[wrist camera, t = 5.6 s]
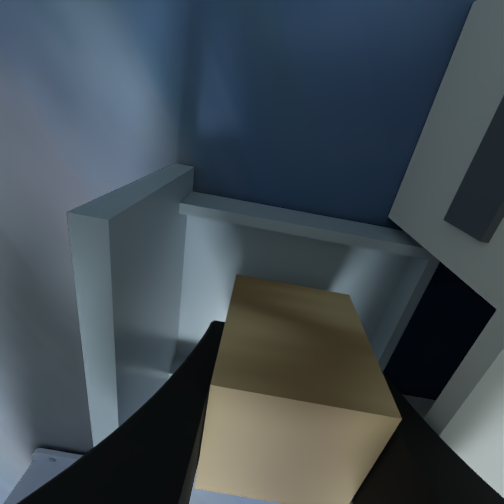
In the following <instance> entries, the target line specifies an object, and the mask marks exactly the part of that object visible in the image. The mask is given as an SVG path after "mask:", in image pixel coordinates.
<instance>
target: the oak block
mask: <svg viewBox="0 0 504 504" xmlns="http://www.w3.org/2000/svg"><path fill="white" fill-rule="evenodd" d="M401 420H402V418H401V415H400V413H399V410H398V408H397V406H396V403H395V401H394V399H393V396H392V394H391V392H390V389H389V387H388V385H387V382H386V380H385V378H384V375H383V373H382V371H381V368H380V366H379V363H378V361H377V359H376V356H375V354H374V352H373V349H372V347H371V345H370V342H369V340H368V338H367V335H366V333H365V331H364V328H363V326H362V324H361V321H360V319H359V316H358V314H357V312H356V309H355V307H354V305H353V302H352V300H351V298H350V295H348V294H343V293H337V292H332V291H326V290H321V289H315V288H310V287H304V286H299V285H293V284H288V283H282V282H277V281H271V280H266V279H260V278H255V277H249V276H244V275H238V274H236V278H235V283H234V287H233V291H232V295H231V300H230V304H229V308H228V312H227V317H226V321H225V325H224V329H223V334H222V338H221V342H220V346H219V351H218V355H217V359H216V363H215V368H214V372H213V376H212V380H211V385H210V391H209V397H208V404H207V411H206V417H205V424H204V430H203V437H202V443H201V450H200V457H199V463H198V470H197V476H196V483H195V489H201V490H207V491H213V492H218V493H224V494H230V495H236V496H241V497H247V498H253V499H259V500H264V501H270V502H276V503H282V504H349V503H350V502H351V500H352V498H353V497H354V495H355V494H356V492H357V490H358V489H359V487H360V486H361V484H362V482H363V481H364V479H365V478H366V476H367V474H368V473H369V471H370V470H371V468H372V466H373V465H374V463H375V462H376V460H377V458H378V457H379V455H380V454H381V452H382V450H383V449H384V447H385V446H386V444H387V442H388V441H389V439H390V438H391V436H392V434H393V433H394V431H395V430H396V428H397V426H398V425H399V423H400V422H401Z"/></svg>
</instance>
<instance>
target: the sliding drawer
mask: <svg viewBox="0 0 504 504" xmlns="http://www.w3.org/2000/svg"><path fill="white" fill-rule="evenodd" d="M193 180H194V167H193V166H188V165H182V164H177V163H174V164H172V165H169V166H167V167H165V168H163V169H161V170H158V171H156V172H154V173H152V174H150V175H147V176H145V177H143V178H141V179H139V180H136V181H134V182H132V183H130V184H127V185H125V186H123V187H121V188H119V189H116V190H114V191H112V192H110V193H108V194H105V195H103V196H101V197H99V198H97V199H94V200H92V201H90V202H88V203H86V204H83V205H81V206H79V207H77V208H75V209H72V210H70V211H68V212H67V220H68V229H69V238H70V246H71V255H72V264H73V273H74V281H75V290H76V299H77V307H78V316H79V325H80V334H81V342H82V351H83V360H84V369H85V377H86V386H87V395H88V404H89V412H90V421H91V430H92V439H93V447H95V446H96V445H97V444H99V443H100V442H101V441H102V440H104V439H105V438H106V437H107V436H109V435H110V434H111V433H112V432H113V431H115V430H116V429H117V428H118V427H119V426H120V425H122V424H123V423H124V422H125V421H126V420H127V419H128V418H129V417H131V416H132V415H133V414H134V413H135V412H136V411H137V410H138V409H139V408H140V407H142V406H143V405H144V404H145V403H146V402H147V401H148V400H149V399H150V398H151V397H152V396H153V395H154V394H155V393H156V392H157V391H158V390H159V389H160V388H161V387H162V386H163V385H164V384H165V382H166V381H167V380H168V379H169V378H170V377H171V376H172V375H173V374H174V372H175V371H176V370H177V369H178V368H179V367H180V366H181V364H182V363H183V362H184V361H185V360H186V358H187V357H188V356H189V354H190V353H191V352H192V351H193V349H194V348H195V347H196V345H197V344H198V343H199V341H200V340H201V338H202V337H203V335H204V334H205V332H206V331H207V329H208V327H209V325H210V323H211V322H212V321H214V320H216V321H222V322H225V321H226V317H227V312H228V308H229V304H230V300H231V295H232V291H233V287H234V283H235V278H236V274H238V275H244V276H249V277H255V278H260V279H266V280H271V281H277V282H282V283H288V284H293V285H299V286H304V287H310V288H315V289H321V290H326V291H332V292H337V293H343V294H348V295H350V298H351V300H352V302H353V305H354V307H355V309H356V312H357V314H358V316H359V319H360V321H361V324H362V326H363V328H364V331H365V333H366V335H367V338H368V340H369V342H370V345H371V347H372V349H373V352H374V354H375V356H376V359H377V361H378V363H379V366H380V368H381V369H382V371H384V369H385V367H386V365H387V363H388V361H389V359H390V357H391V355H392V353H393V352H394V350H395V348H396V346H397V344H398V342H399V340H400V338H401V336H402V334H403V332H404V330H405V328H406V326H407V324H408V322H409V320H410V319H411V317H412V315H413V313H414V311H415V309H416V307H417V305H418V303H419V301H420V299H421V297H422V295H423V293H424V291H425V289H426V288H427V286H428V284H429V282H430V280H431V278H432V276H433V274H434V272H435V270H436V268H437V266H438V264H439V262H440V261H439V260H438V259H437V258H436V257H435V256H433V255H432V254H431V253H430V252H429V251H427V250H426V249H425V248H424V247H423V246H422V245H420V244H419V243H418V242H417V241H416V240H415V239H413V238H412V237H411V236H410V235H409V234H408V233H406V232H405V231H403V230H397V229H392V228H387V227H381V226H376V225H371V224H365V223H360V222H355V221H349V220H344V219H338V218H333V217H328V216H322V215H317V214H312V213H306V212H301V211H295V210H290V209H285V208H279V207H274V206H269V205H263V204H258V203H253V202H247V201H242V200H236V199H231V198H226V197H220V196H215V195H210V194H204V193H199V192H194V191H193Z"/></svg>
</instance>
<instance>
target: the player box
mask: <svg viewBox="0 0 504 504" xmlns="http://www.w3.org/2000/svg"><path fill="white" fill-rule="evenodd" d="M388 217H389V218H390V219H391V220H392V221H393V222H395V223H396V224H397V225H398V226H399V227H400V228H402V229H403V230H404V231H405V232H406V233H408V234H409V235H410V236H411V237H412V238H413V239H415V240H416V241H417V242H418V243H419V244H420V245H422V246H423V247H424V248H425V249H426V250H427V251H429V252H430V253H431V254H432V255H433V256H435V257H436V258H437V259H438V260H439V261H440V262H442V263H443V264H444V265H445V266H446V267H447V268H449V269H450V270H451V271H452V272H453V273H454V274H456V275H457V276H458V277H459V278H460V279H461V280H463V281H464V282H465V283H466V284H467V285H469V286H470V287H471V288H472V289H473V290H474V291H476V292H477V293H478V294H479V295H480V296H481V297H483V298H484V299H485V300H486V301H487V302H488V303H490V304H491V305H492V306H493V307H494V308H496V309H497V310H496V311H495V313H494V314H493V316H492V317H491V319H490V320H489V322H488V323H487V325H486V326H485V328H484V329H483V331H482V332H481V334H480V335H479V337H478V338H477V340H476V341H475V343H474V344H473V346H472V347H471V349H470V350H469V352H468V353H467V355H466V356H465V358H464V359H463V361H462V362H461V364H460V365H459V367H458V368H457V370H456V371H455V373H454V374H453V376H452V377H451V379H450V380H449V382H448V383H447V385H446V386H445V388H444V389H443V391H442V392H441V394H440V395H439V397H438V398H437V400H432V399H426V398H420V397H415V396H409V395H404V394H402V395H403V396H404V397H405V399H406V400H407V401H408V402H409V403H410V404H411V406H412V407H413V408H414V409H415V410H416V411H417V412H418V414H419V415H420V416H421V417H422V418H423V419H424V420H425V421H426V422H427V423H428V425H429V426H430V427H431V428H432V429H433V430H434V431H435V432H436V433H437V434H438V435H439V437H440V438H441V439H442V440H443V441H444V442H445V443H446V444H447V445H448V446H449V447H450V448H451V449H452V450H453V451H454V452H455V453H456V454H457V455H458V456H459V457H460V458H461V459H462V460H463V461H464V462H465V463H466V464H467V465H468V466H469V467H470V468H471V469H473V470H474V471H475V472H476V473H477V474H478V475H479V476H480V477H481V478H482V479H483V480H484V481H485V482H486V483H487V484H489V485H490V486H491V487H492V488H493V489H494V490H495V491H496V492H498V493H499V494H500V495H501V496H502V497H503V498H504V0H477V1H475V2H473V4H472V6H471V9H470V11H469V14H468V16H467V19H466V22H465V24H464V27H463V29H462V32H461V34H460V37H459V39H458V42H457V44H456V47H455V49H454V52H453V54H452V57H451V59H450V62H449V64H448V67H447V69H446V72H445V75H444V77H443V80H442V82H441V85H440V87H439V90H438V92H437V95H436V97H435V100H434V102H433V105H432V107H431V110H430V112H429V115H428V117H427V120H426V122H425V125H424V127H423V130H422V133H421V135H420V138H419V140H418V143H417V145H416V148H415V150H414V153H413V155H412V158H411V160H410V163H409V165H408V168H407V170H406V173H405V175H404V178H403V180H402V183H401V186H400V188H399V191H398V193H397V196H396V198H395V201H394V203H393V206H392V208H391V211H390V213H389V216H388ZM349 504H352V500H351V502H350V503H349Z"/></svg>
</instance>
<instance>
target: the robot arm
mask: <svg viewBox="0 0 504 504" xmlns="http://www.w3.org/2000/svg"><path fill="white" fill-rule="evenodd" d="M224 325H225V322H222V321H216V320H214V321H212V322H211V323H210V325H209V327H208V329H207V331H206V332H205V334H204V335H203V337H202V338H201V340H200V341H199V343H198V344H197V345H196V347H195V348H194V349H193V351H192V352H191V353H190V354H189V356H188V357H187V358H186V360H185V361H184V362H183V363H182V364H181V366H180V367H179V368H178V369H177V370H176V371H175V372H174V374H173V375H172V376H171V377H170V378H169V379H168V380H167V381H166V382H165V384H164V385H163V386H162V387H161V388H160V389H159V390H158V391H157V392H156V393H155V394H154V395H153V396H152V397H151V398H150V399H149V400H148V401H147V402H146V403H145V404H144V405H143V406H142V407H140V408H139V409H138V410H137V411H136V412H135V413H134V414H133V415H132V416H131V417H129V418H128V419H127V420H126V421H125V422H124V423H123V424H122V425H120V426H119V427H118V428H117V429H116V430H115V431H113V432H112V433H111V434H110V435H109V436H107V437H106V438H105V439H104V440H102V441H101V442H100V443H99V444H97V445H96V446H95V447H93V448H92V449H91V450H90V451H88V452H87V453H86V454H85V455H79V454H73V453H67V452H62V451H56V450H50V449H44V448H37V449H36V450H35V451H34V452H33V454H32V458H33V462H32V464H31V465H30V466H29V468H28V469H27V471H26V472H25V474H24V475H23V476H22V478H21V479H20V481H19V482H18V484H17V485H16V486H15V488H14V489H13V491H12V492H11V494H10V495H9V496H8V498H7V499H6V501H5V502H4V504H189V501H190V496H191V491H192V487H193V482H194V477H195V473H196V469H197V465H198V461H199V457H200V450H201V443H202V437H203V430H204V424H205V417H206V411H207V404H208V397H209V391H210V385H211V380H212V376H213V372H214V368H215V363H216V359H217V355H218V351H219V346H220V342H221V338H222V334H223V329H224ZM381 371H382V369H381ZM382 373H383V375H384V378H385V380H386V382H387V385H388V387H389V389H390V392H391V394H392V396H393V399H394V401H395V403H396V406H397V408H398V410H399V413H400V415H401V418H402V420H401V422H400V423H399V425H398V426H397V428H396V430H395V431H394V433H393V434H392V436H391V438H390V439H389V441H388V442H387V444H386V446H385V447H384V449H383V450H382V452H381V454H380V455H379V457H378V458H377V460H376V462H375V463H374V465H373V466H372V468H371V470H370V471H369V473H368V474H367V476H366V478H365V479H364V481H363V482H362V484H361V486H360V487H359V489H358V490H357V492H356V494H355V495H354V497H353V498H352V504H504V498H503V497H502V496H501V495H500V494H499V493H498V492H496V491H495V490H494V489H493V488H492V487H491V486H490V485H489V484H487V483H486V482H485V481H484V480H483V479H482V478H481V477H480V476H479V475H478V474H477V473H476V472H475V471H474V470H473V469H471V468H470V467H469V466H468V465H467V464H466V463H465V462H464V461H463V460H462V459H461V458H460V457H459V456H458V455H457V454H456V453H455V452H454V451H453V450H452V449H451V448H450V447H449V446H448V445H447V444H446V443H445V442H444V441H443V440H442V439H441V438H440V437H439V435H438V434H437V433H436V432H435V431H434V430H433V429H432V428H431V427H430V426H429V425H428V423H427V422H426V421H425V420H424V419H423V418H422V417H421V416H420V415H419V414H418V412H417V411H416V410H415V409H414V408H413V407H412V406H411V404H410V403H409V402H408V401H407V400H406V399H405V397H404V396H403V395H402V394H401V393H400V391H399V390H398V389H397V388H396V387H395V385H394V384H393V383H392V382H391V381H390V379H389V378H388V377H387V376H386V374H385V373H384V372H383V371H382Z"/></svg>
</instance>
